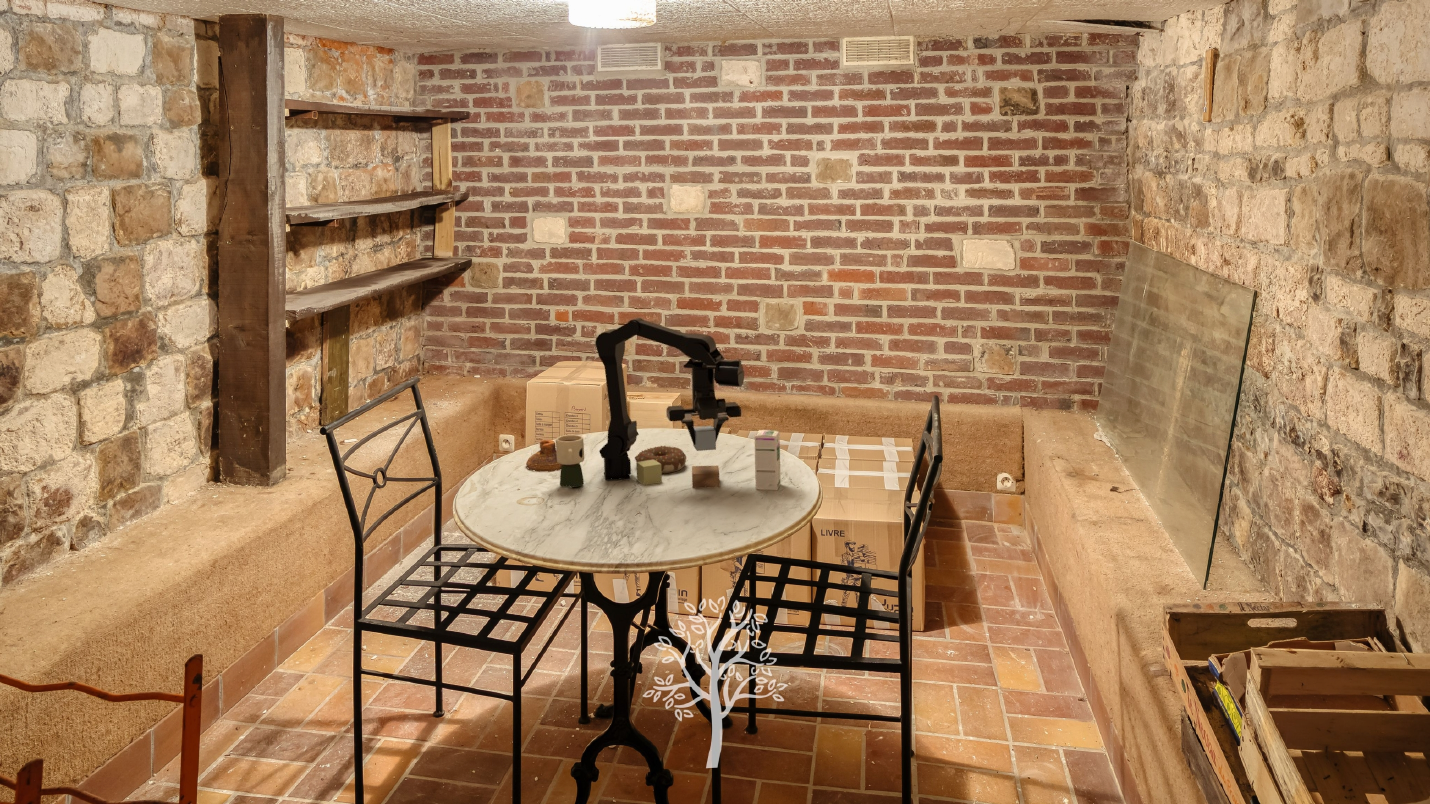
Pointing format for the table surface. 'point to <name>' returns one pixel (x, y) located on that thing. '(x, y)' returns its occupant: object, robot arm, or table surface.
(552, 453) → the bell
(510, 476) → the table surface
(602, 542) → the table surface
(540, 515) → the table surface
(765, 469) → the syrup box
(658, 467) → the olive cube
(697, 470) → the walnut slab
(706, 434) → the slate cube
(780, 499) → the table surface
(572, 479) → the character mug
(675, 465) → the donut
